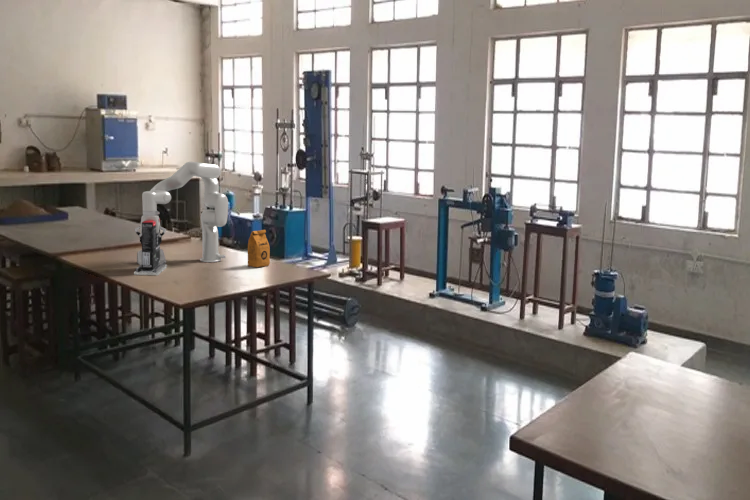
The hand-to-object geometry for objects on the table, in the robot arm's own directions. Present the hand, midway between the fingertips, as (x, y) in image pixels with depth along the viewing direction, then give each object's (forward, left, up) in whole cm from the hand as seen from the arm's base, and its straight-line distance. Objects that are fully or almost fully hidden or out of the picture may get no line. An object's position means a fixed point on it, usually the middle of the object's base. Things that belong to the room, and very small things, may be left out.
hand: (150, 243), depth 384 cm
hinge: (+6, -23, -16) cm, 28 cm away
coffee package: (-59, -19, -16) cm, 64 cm away
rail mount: (0, 0, -16) cm, 16 cm away
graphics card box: (0, 0, -14) cm, 14 cm away
